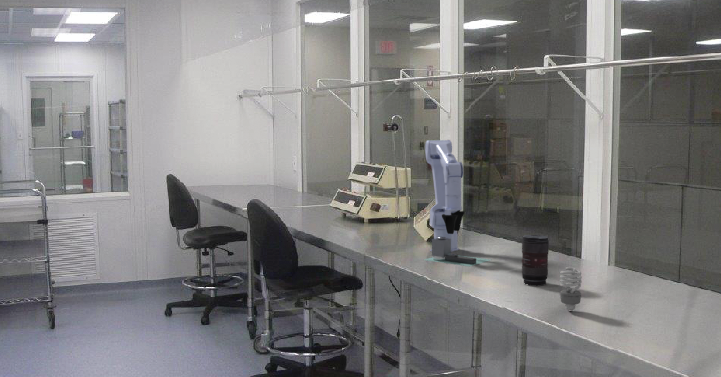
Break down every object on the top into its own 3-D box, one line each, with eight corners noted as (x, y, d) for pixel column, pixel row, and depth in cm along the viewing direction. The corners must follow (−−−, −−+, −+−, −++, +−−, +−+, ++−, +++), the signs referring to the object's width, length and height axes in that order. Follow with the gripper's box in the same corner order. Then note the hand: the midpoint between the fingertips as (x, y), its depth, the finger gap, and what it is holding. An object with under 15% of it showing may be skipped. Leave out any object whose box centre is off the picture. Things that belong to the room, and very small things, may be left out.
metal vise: (478, 262, 267) (478, 251, 267) (469, 265, 263) (469, 253, 262) (439, 257, 278) (439, 246, 278) (429, 259, 274) (429, 248, 273)
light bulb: (556, 308, 204) (556, 265, 203) (576, 308, 204) (577, 264, 203) (563, 314, 198) (564, 269, 197) (584, 313, 199) (585, 268, 197)
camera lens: (548, 287, 229) (549, 238, 228) (521, 286, 231) (522, 238, 230) (547, 281, 237) (548, 234, 236) (521, 280, 239) (521, 233, 238)
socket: (450, 254, 274) (450, 236, 274) (443, 256, 270) (443, 238, 270) (439, 253, 277) (439, 235, 277) (431, 255, 273) (431, 237, 273)
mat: (446, 254, 285) (446, 253, 285) (492, 260, 272) (492, 259, 272) (422, 260, 274) (422, 259, 274) (469, 267, 261) (469, 266, 261)
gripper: (448, 193, 282) (448, 228, 284) (436, 197, 269) (437, 234, 270) (466, 193, 280) (466, 229, 281) (455, 197, 266) (456, 235, 268)
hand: (453, 232), depth 276 cm, fingers open, 7 cm apart
